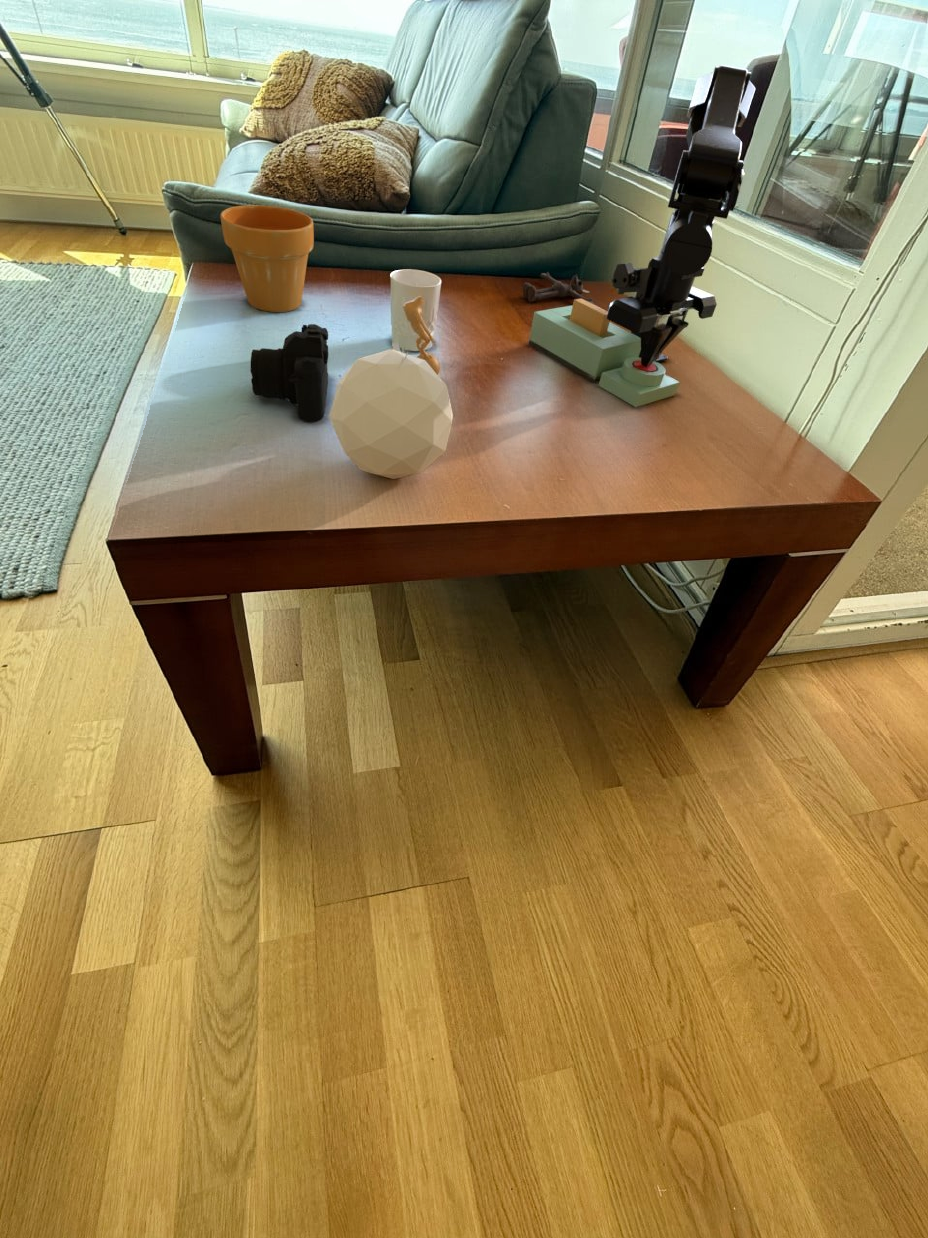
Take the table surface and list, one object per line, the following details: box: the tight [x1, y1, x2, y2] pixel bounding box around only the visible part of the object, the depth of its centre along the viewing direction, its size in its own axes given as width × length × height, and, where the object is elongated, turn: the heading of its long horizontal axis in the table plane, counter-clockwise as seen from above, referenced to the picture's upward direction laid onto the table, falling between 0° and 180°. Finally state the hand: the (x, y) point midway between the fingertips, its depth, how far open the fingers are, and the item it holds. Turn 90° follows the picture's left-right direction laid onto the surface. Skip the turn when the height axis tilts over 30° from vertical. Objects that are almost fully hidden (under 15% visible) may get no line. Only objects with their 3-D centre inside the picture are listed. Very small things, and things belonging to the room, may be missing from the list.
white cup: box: [389, 268, 443, 352], centre depth 101 cm, size 8×8×10 cm
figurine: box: [403, 296, 441, 376], centre depth 90 cm, size 8×6×12 cm
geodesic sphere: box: [328, 342, 454, 480], centre depth 72 cm, size 15×14×14 cm
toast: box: [570, 298, 611, 338], centre depth 105 cm, size 2×7×8 cm, turn 38°
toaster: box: [527, 304, 641, 384], centre depth 106 cm, size 10×16×6 cm, turn 38°
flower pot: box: [220, 204, 315, 313], centre depth 105 cm, size 14×14×13 cm
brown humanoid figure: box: [522, 271, 596, 305], centre depth 128 cm, size 18×4×14 cm
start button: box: [633, 361, 656, 372], centre depth 99 cm, size 4×4×2 cm
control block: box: [598, 357, 681, 408], centre depth 100 cm, size 10×8×4 cm
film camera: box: [250, 323, 329, 423], centre depth 83 cm, size 15×10×9 cm, turn 5°
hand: (645, 365), depth 99 cm, fingers closed, pressing on start button
